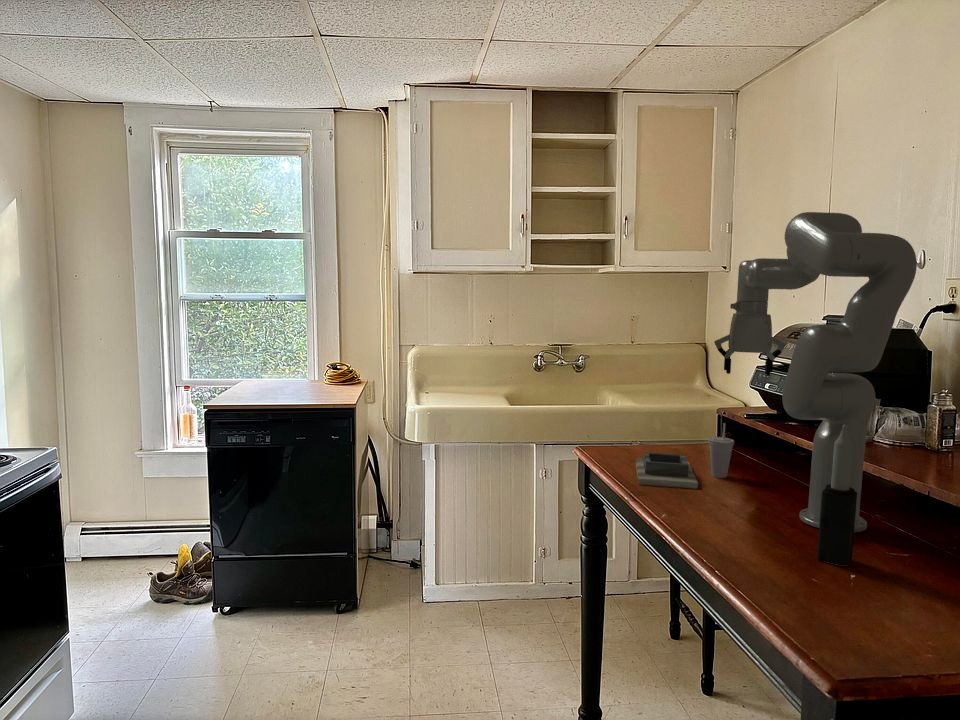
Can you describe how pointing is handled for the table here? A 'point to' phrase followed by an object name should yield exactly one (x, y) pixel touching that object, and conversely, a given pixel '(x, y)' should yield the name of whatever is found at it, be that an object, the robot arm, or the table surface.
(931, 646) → the table surface
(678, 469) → the holder
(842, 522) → the dark tall narrow piece
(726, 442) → the smoothie
